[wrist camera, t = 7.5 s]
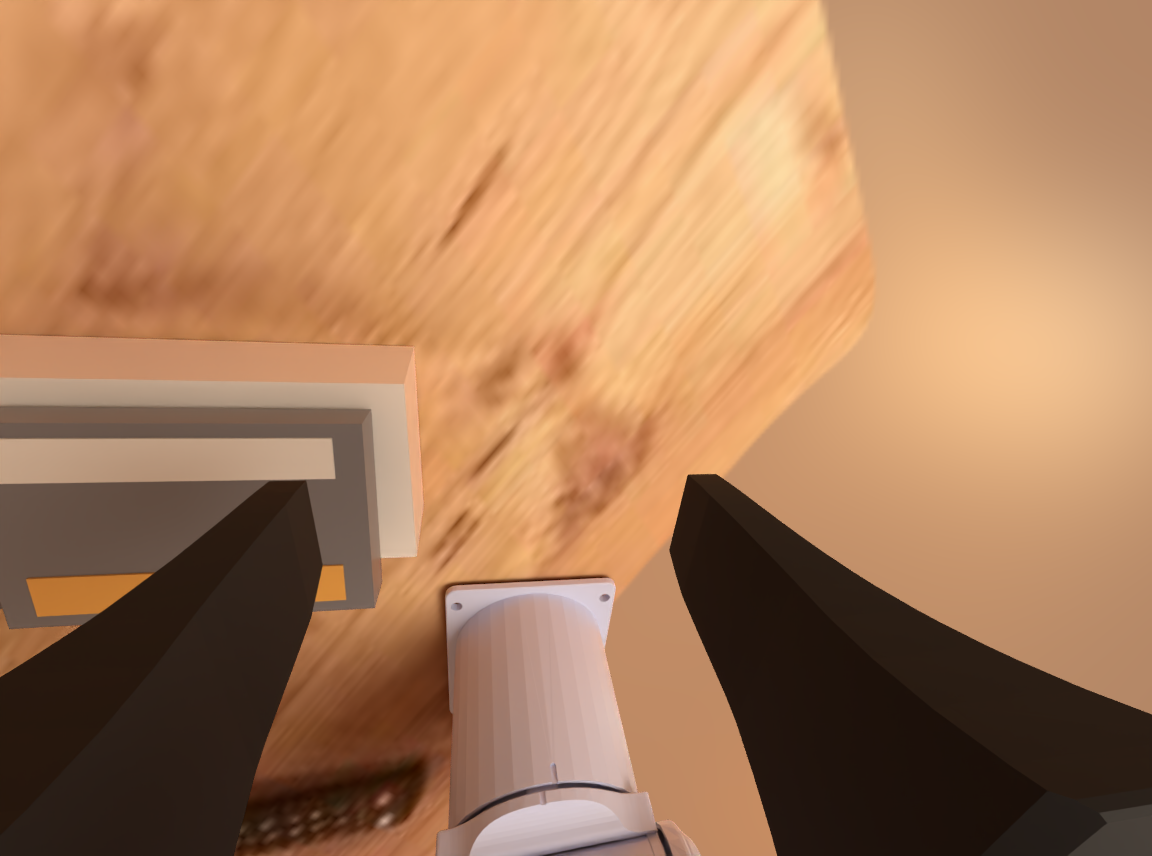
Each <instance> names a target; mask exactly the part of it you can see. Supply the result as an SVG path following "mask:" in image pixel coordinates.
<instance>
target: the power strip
mask: <svg viewBox="0 0 1152 856" xmlns="http://www.w3.org/2000/svg"><path fill="white" fill-rule="evenodd" d="M0 406H2V407H131V408H261V409H371V411H372V427H373V443H374V459H375V474H376V490H377V506H378V522H379V538H380V554H381V558H397V557H417V552H418V544H419V537H420V530H421V522H422V515H423V507H424V500H423V483H422V467H421V451H420V434H419V418H418V402H417V385H416V369H415V352H414V346H384V345H349V344H315V343H280V342H245V341H211V340H176V339H141V338H107V337H72V336H37V335H2V334H0Z"/></svg>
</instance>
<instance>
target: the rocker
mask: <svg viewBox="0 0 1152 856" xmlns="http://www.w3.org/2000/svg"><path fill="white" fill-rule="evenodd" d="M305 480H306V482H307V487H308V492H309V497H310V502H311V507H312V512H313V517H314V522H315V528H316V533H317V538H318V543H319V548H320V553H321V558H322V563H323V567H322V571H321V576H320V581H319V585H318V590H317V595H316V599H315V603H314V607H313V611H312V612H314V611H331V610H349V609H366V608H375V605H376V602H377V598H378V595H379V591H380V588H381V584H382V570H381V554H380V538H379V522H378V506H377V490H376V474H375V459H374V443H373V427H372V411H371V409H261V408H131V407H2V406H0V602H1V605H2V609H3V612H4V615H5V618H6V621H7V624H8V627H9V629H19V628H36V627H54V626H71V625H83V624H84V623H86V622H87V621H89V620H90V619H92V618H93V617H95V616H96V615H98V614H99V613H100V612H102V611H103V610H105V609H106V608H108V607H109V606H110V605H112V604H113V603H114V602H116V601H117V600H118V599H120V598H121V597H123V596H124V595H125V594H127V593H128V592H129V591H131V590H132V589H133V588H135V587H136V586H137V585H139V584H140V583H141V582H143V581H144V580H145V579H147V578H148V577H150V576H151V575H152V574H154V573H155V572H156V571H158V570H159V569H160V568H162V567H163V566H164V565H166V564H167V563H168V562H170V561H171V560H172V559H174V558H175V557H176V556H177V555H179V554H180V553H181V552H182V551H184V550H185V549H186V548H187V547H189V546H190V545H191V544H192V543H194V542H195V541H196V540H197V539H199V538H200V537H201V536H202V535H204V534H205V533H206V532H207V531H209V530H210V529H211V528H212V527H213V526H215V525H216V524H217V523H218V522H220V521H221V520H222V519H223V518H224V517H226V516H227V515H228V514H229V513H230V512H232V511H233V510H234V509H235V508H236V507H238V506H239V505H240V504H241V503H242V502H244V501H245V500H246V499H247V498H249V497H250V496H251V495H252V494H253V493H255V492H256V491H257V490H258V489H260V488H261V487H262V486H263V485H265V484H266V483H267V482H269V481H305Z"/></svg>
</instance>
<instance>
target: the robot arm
mask: <svg viewBox="0 0 1152 856" xmlns="http://www.w3.org/2000/svg"><path fill="white" fill-rule="evenodd" d="M670 554H671V558H672V562H673V566H674V569H675V573H676V577H677V580H678V583H679V586H680V590H681V593H682V596H683V598H684V601H685V603H686V606H687V608H688V610H689V613H690V615H691V617H692V620H693V622H694V624H695V626H696V629H697V631H698V634H699V636H700V638H701V640H702V643H703V645H704V647H705V650H706V652H707V654H708V656H709V659H710V661H711V663H712V666H713V668H714V670H715V672H716V675H717V677H718V679H719V681H720V684H721V686H722V688H723V691H724V693H725V695H726V697H727V700H728V703H729V705H730V707H731V710H732V713H733V715H734V718H735V720H736V723H737V726H738V729H739V732H740V735H741V738H742V741H743V744H744V748H745V751H746V754H747V757H748V760H749V763H750V766H751V769H752V772H753V775H754V778H755V782H756V785H757V788H758V792H759V795H760V798H761V801H762V805H763V808H764V811H765V814H766V818H767V821H768V825H769V828H770V831H771V835H772V838H773V842H774V845H775V849H776V853H777V856H1152V715H1151V714H1149V713H1146V712H1144V711H1141V710H1139V709H1136V708H1133V707H1131V706H1128V705H1125V704H1123V703H1120V702H1118V701H1115V700H1112V699H1110V698H1107V697H1104V696H1102V695H1099V694H1097V693H1094V692H1091V691H1089V690H1086V689H1084V688H1081V687H1079V686H1076V685H1074V684H1071V683H1069V682H1067V681H1064V680H1062V679H1060V678H1058V677H1055V676H1053V675H1051V674H1048V673H1046V672H1044V671H1041V670H1039V669H1037V668H1035V667H1032V666H1030V665H1028V664H1025V663H1023V662H1021V661H1018V660H1016V659H1014V658H1012V657H1010V656H1008V655H1006V654H1003V653H1001V652H999V651H997V650H995V649H993V648H990V647H988V646H986V645H984V644H982V643H980V642H978V641H976V640H974V639H972V638H970V637H968V636H966V635H964V634H962V633H960V632H958V631H956V630H954V629H952V628H950V627H948V626H946V625H944V624H942V623H940V622H938V621H937V620H935V619H933V618H931V617H929V616H927V615H925V614H924V613H922V612H919V611H918V610H916V609H914V608H913V607H911V606H909V605H907V604H906V603H904V602H902V601H900V600H899V599H897V598H895V597H894V596H892V595H890V594H888V593H887V592H885V591H883V590H882V589H880V588H878V587H876V586H874V585H873V584H871V583H870V582H868V581H867V580H865V579H863V578H862V577H860V576H859V575H857V574H855V573H854V572H852V571H851V570H849V569H848V568H846V567H845V566H843V565H842V564H840V563H839V562H837V561H836V560H834V559H833V558H831V557H830V556H828V555H827V554H825V553H824V552H822V551H821V550H820V549H818V548H817V547H815V546H814V545H812V544H811V543H810V542H808V541H807V540H805V539H804V538H803V537H801V536H800V535H798V534H797V533H796V532H794V531H793V530H792V529H790V528H789V527H787V526H786V525H785V524H783V523H782V522H781V521H779V520H778V519H776V518H775V517H774V516H773V515H771V514H770V513H769V512H767V511H766V510H765V509H763V508H762V507H761V506H759V505H758V504H757V503H755V502H754V501H753V500H751V499H750V498H749V497H748V496H746V495H745V494H743V493H742V492H741V491H739V490H738V489H737V488H735V487H734V486H732V485H731V484H730V483H728V482H727V481H726V480H724V479H723V478H721V477H720V476H718V475H716V474H697V475H688V476H687V480H686V484H685V488H684V492H683V497H682V501H681V505H680V509H679V513H678V517H677V521H676V525H675V529H674V533H673V537H672V541H671V546H670ZM322 567H323V563H322V558H321V553H320V548H319V543H318V538H317V533H316V528H315V522H314V517H313V512H312V507H311V502H310V497H309V492H308V487H307V482H306V480H305V481H269V482H267V483H266V484H265V485H263V486H262V487H261V488H260V489H258V490H257V491H256V492H255V493H253V494H252V495H251V496H250V497H249V498H247V499H246V500H245V501H244V502H242V503H241V504H240V505H239V506H238V507H236V508H235V509H234V510H233V511H232V512H230V513H229V514H228V515H227V516H226V517H224V518H223V519H222V520H221V521H220V522H218V523H217V524H216V525H215V526H213V527H212V528H211V529H210V530H209V531H207V532H206V533H205V534H204V535H202V536H201V537H200V538H199V539H197V540H196V541H195V542H194V543H192V544H191V545H190V546H189V547H187V548H186V549H185V550H184V551H182V552H181V553H180V554H179V555H177V556H176V557H175V558H174V559H172V560H171V561H170V562H168V563H167V564H166V565H164V566H163V567H162V568H160V569H159V570H158V571H156V572H155V573H154V574H152V575H151V576H150V577H148V578H147V579H145V580H144V581H143V582H141V583H140V584H139V585H137V586H136V587H135V588H133V589H132V590H131V591H129V592H128V593H127V594H125V595H124V596H123V597H121V598H120V599H118V600H117V601H116V602H114V603H113V604H112V605H110V606H109V607H108V608H106V609H105V610H103V611H102V612H100V613H99V614H98V615H96V616H95V617H93V618H92V619H90V620H89V621H87V622H86V623H84V624H83V625H81V626H80V627H78V628H77V629H75V630H74V631H72V632H71V633H70V634H68V635H66V636H65V637H63V638H62V639H60V640H59V641H57V642H56V643H54V644H52V645H51V646H49V647H48V648H46V649H45V650H43V651H41V652H40V653H38V654H37V655H35V656H34V657H32V658H31V659H29V660H27V661H26V662H24V663H23V664H21V665H20V666H18V667H16V668H15V669H13V670H11V671H10V672H8V673H7V674H5V675H3V676H2V677H0V856H234V852H235V848H236V844H237V840H238V836H239V833H240V829H241V825H242V821H243V818H244V814H245V810H246V806H247V802H248V799H249V795H250V791H251V787H252V784H253V780H254V776H255V772H256V769H257V766H258V763H259V760H260V757H261V754H262V751H263V748H264V745H265V742H266V739H267V736H268V734H269V731H270V728H271V726H272V723H273V720H274V717H275V715H276V712H277V709H278V707H279V704H280V701H281V699H282V696H283V693H284V690H285V688H286V685H287V682H288V680H289V677H290V674H291V672H292V669H293V666H294V663H295V661H296V658H297V655H298V652H299V650H300V647H301V644H302V641H303V639H304V636H305V633H306V630H307V627H308V625H309V622H310V619H311V616H312V611H313V607H314V603H315V599H316V595H317V590H318V585H319V581H320V576H321V571H322ZM615 590H616V588H615V583H614V581H613V580H612V579H610V578H591V579H571V580H552V581H532V582H513V583H494V584H474V585H456V586H452V587H450V588H448V589H447V591H446V594H445V607H446V632H447V657H448V682H449V706H450V712H451V713H452V714H453V724H452V749H451V774H450V799H449V824H448V829H447V830H442V831H439V832H438V833H437V840H436V856H701V855H700V853H699V851H698V849H697V847H696V845H695V844H694V842H693V841H692V840H691V839H690V838H689V837H688V836H687V835H686V834H684V833H683V832H682V831H681V830H680V829H679V827H678V826H677V825H676V824H675V823H674V822H673V821H672V820H664V821H658V822H655V819H654V815H653V811H652V807H651V803H650V799H649V795H648V793H647V792H638V791H637V786H636V783H635V778H634V774H633V769H632V765H631V761H630V757H629V752H628V748H627V744H626V740H625V735H624V731H623V727H622V723H621V718H620V715H619V710H618V706H617V701H616V697H615V693H614V689H613V685H612V680H611V676H610V672H609V667H608V663H607V659H606V655H605V650H604V649H605V644H606V638H607V633H608V627H609V622H610V617H611V612H612V606H613V601H614V596H615ZM604 594H606V595H604ZM454 603H459V604H454Z"/></svg>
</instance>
